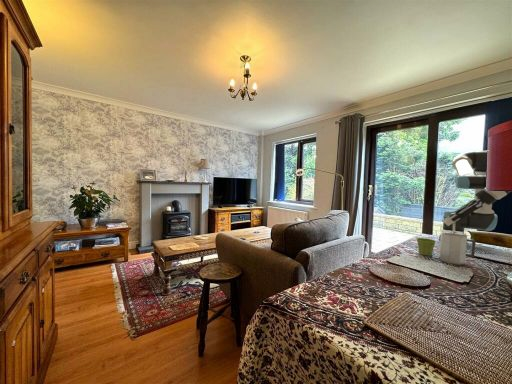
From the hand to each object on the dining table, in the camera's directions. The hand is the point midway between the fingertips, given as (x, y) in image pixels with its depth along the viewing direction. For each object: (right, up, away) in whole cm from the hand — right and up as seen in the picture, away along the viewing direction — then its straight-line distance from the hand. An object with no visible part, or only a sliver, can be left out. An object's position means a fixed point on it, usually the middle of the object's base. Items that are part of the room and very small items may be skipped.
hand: (445, 223), depth 120 cm
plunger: (+3, -15, -1) cm, 15 cm away
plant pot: (-3, -20, +10) cm, 23 cm away
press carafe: (+4, -21, -2) cm, 21 cm away
